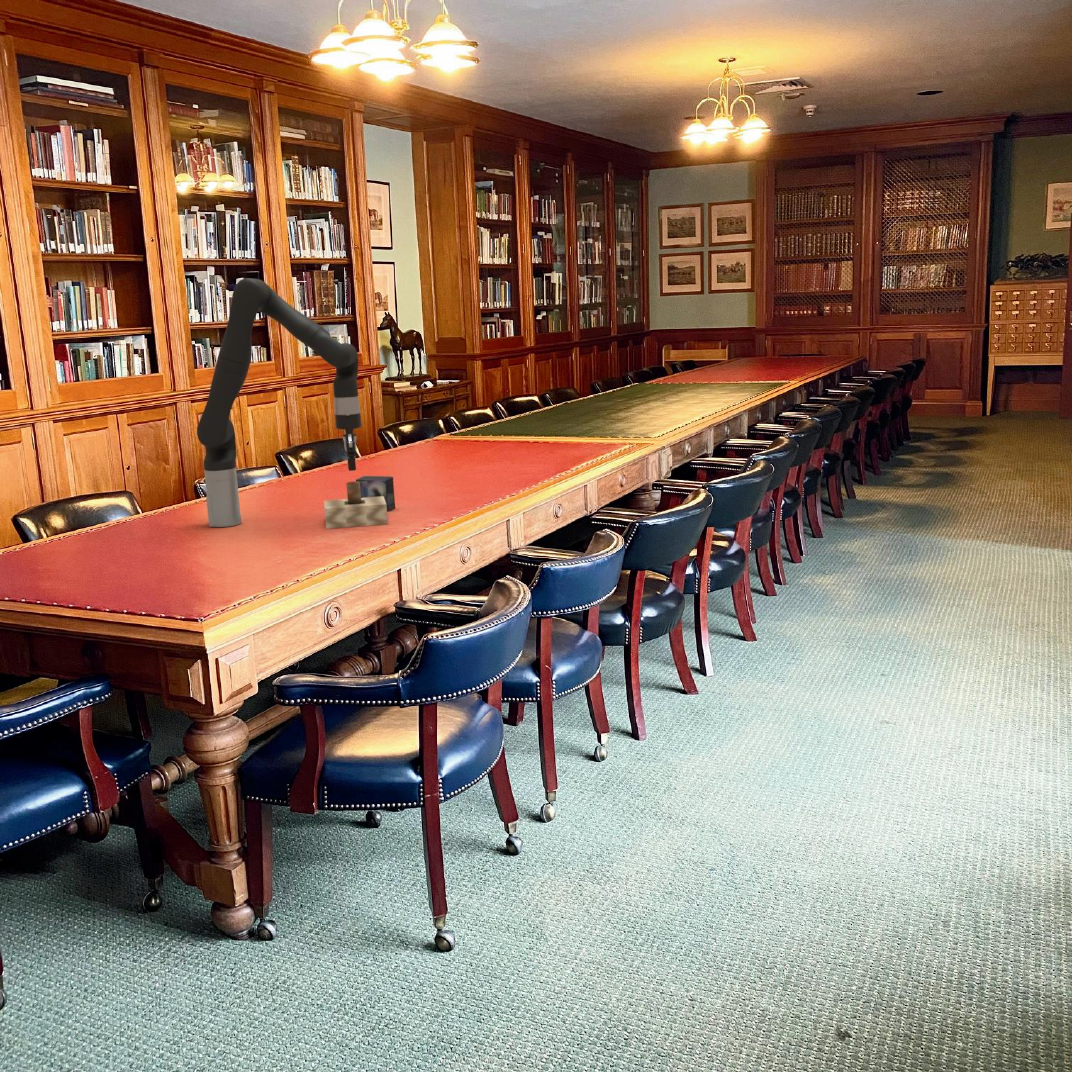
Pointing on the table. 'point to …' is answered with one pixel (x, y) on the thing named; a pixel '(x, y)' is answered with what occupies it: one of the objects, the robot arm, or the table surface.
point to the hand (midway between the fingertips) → (352, 470)
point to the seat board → (355, 513)
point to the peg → (354, 493)
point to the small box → (378, 489)
